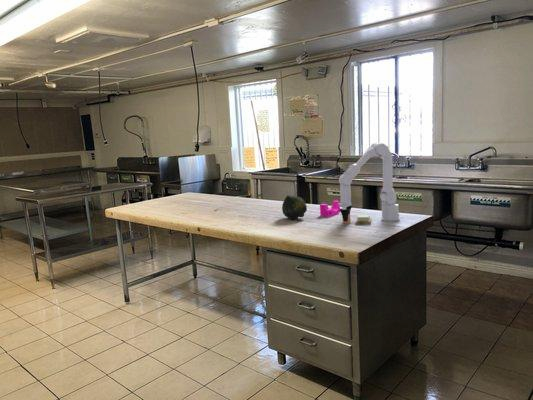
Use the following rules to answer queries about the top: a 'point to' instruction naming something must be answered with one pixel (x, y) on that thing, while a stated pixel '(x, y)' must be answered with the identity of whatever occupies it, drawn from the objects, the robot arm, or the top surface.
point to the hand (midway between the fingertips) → (346, 219)
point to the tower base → (363, 222)
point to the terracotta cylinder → (347, 221)
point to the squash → (294, 207)
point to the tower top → (363, 217)
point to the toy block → (332, 211)
